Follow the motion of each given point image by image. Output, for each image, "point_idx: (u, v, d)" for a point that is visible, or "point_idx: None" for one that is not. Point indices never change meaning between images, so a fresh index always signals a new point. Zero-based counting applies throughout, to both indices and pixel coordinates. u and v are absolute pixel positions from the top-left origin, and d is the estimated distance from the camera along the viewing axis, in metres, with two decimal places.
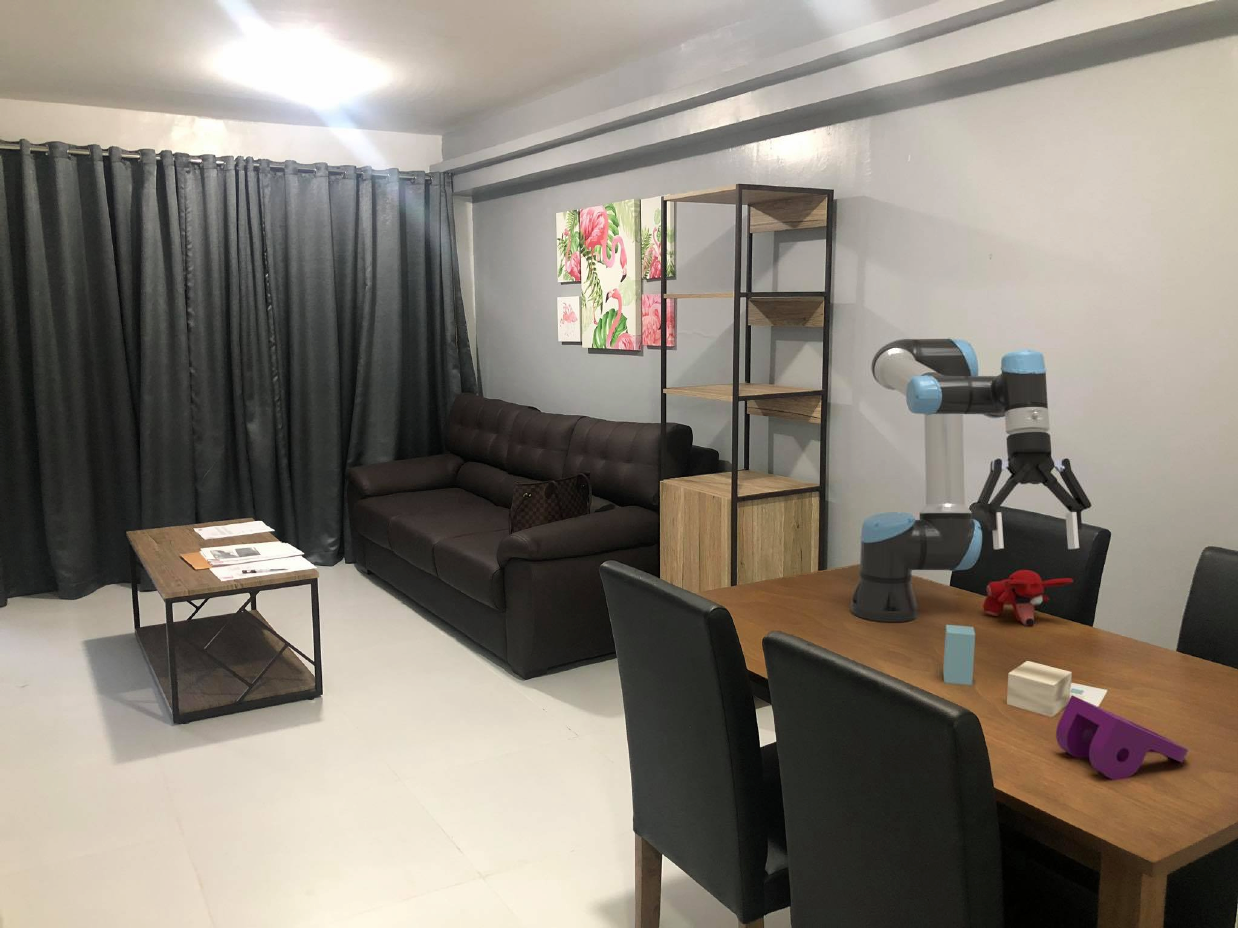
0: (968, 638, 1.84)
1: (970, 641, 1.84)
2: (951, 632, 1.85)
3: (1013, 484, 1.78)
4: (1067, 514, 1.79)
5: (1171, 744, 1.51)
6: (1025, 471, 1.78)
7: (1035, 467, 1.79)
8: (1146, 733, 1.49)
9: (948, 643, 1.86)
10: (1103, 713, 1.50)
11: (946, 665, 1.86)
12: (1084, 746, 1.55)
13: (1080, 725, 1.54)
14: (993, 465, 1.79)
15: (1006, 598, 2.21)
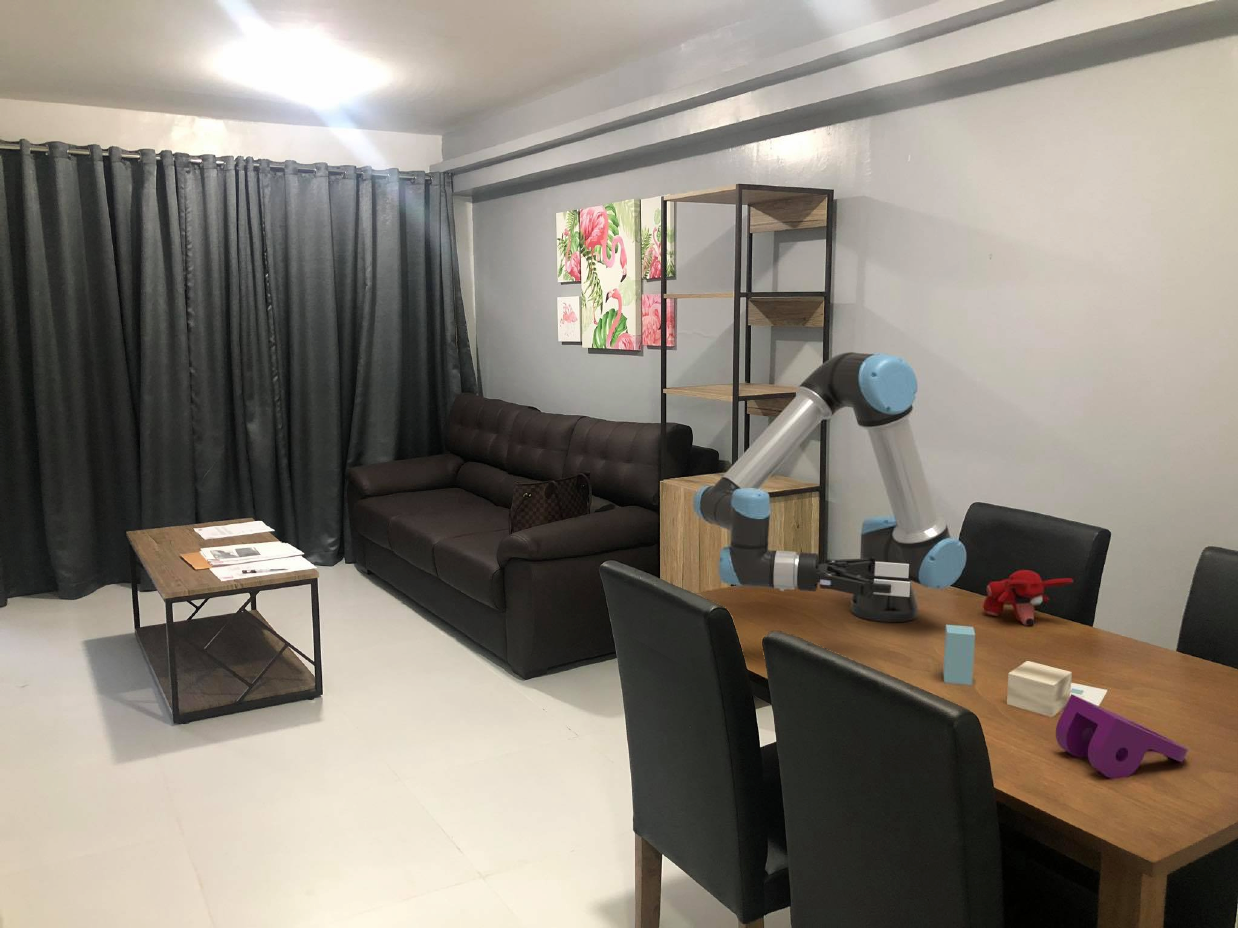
0: (968, 638, 1.84)
1: (970, 641, 1.84)
2: (951, 632, 1.85)
3: None
4: None
5: (1171, 744, 1.51)
6: None
7: None
8: (1145, 733, 1.49)
9: (948, 643, 1.86)
10: (1102, 712, 1.50)
11: (946, 665, 1.86)
12: (1083, 745, 1.56)
13: (1079, 724, 1.55)
14: None
15: (1006, 598, 2.21)
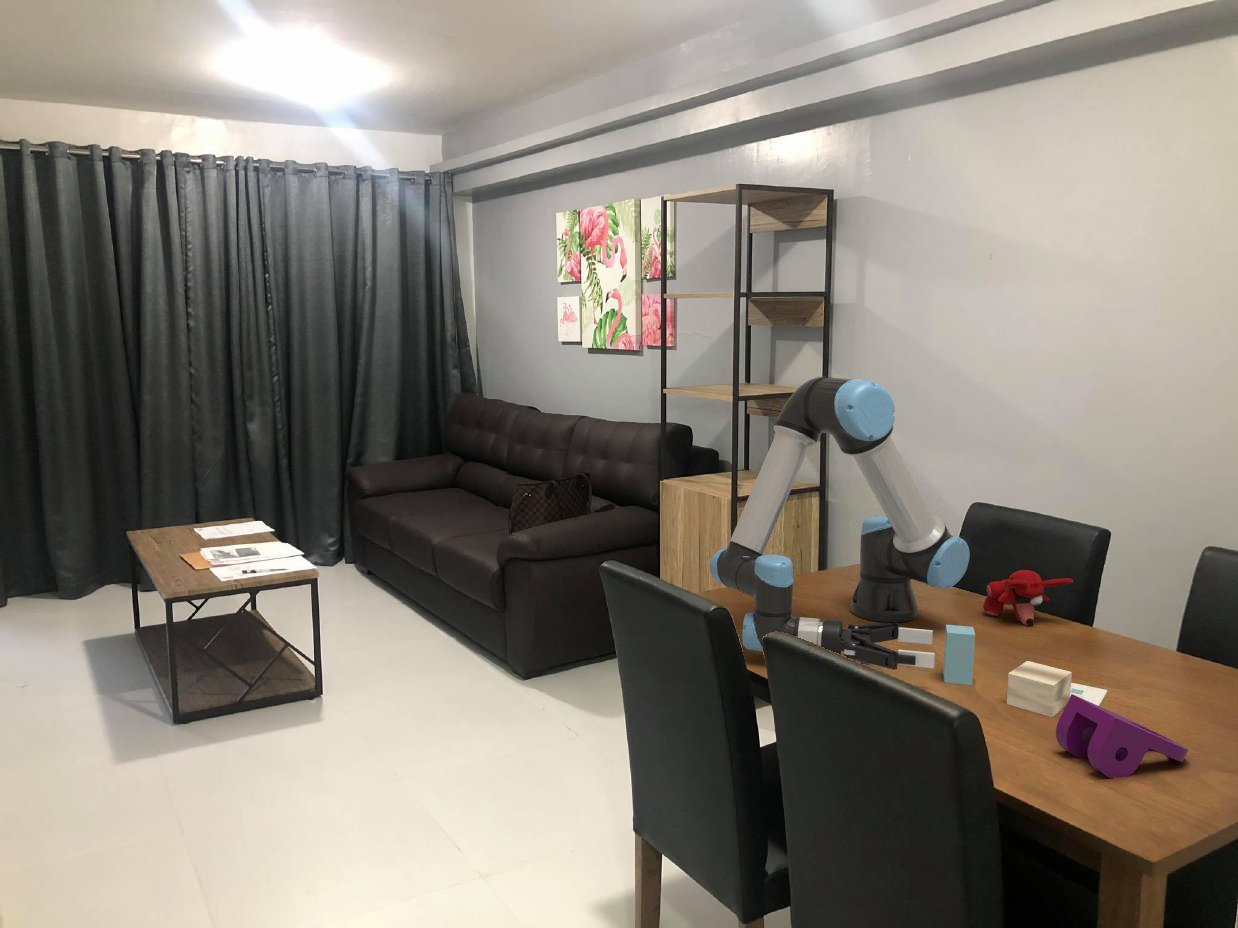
0: (968, 638, 1.84)
1: (970, 641, 1.84)
2: (951, 632, 1.85)
3: (871, 642, 1.95)
4: None
5: (1171, 744, 1.51)
6: None
7: None
8: (1145, 732, 1.49)
9: (948, 643, 1.86)
10: (1102, 712, 1.50)
11: (946, 665, 1.86)
12: (1083, 745, 1.56)
13: (1079, 724, 1.55)
14: None
15: (1006, 598, 2.21)
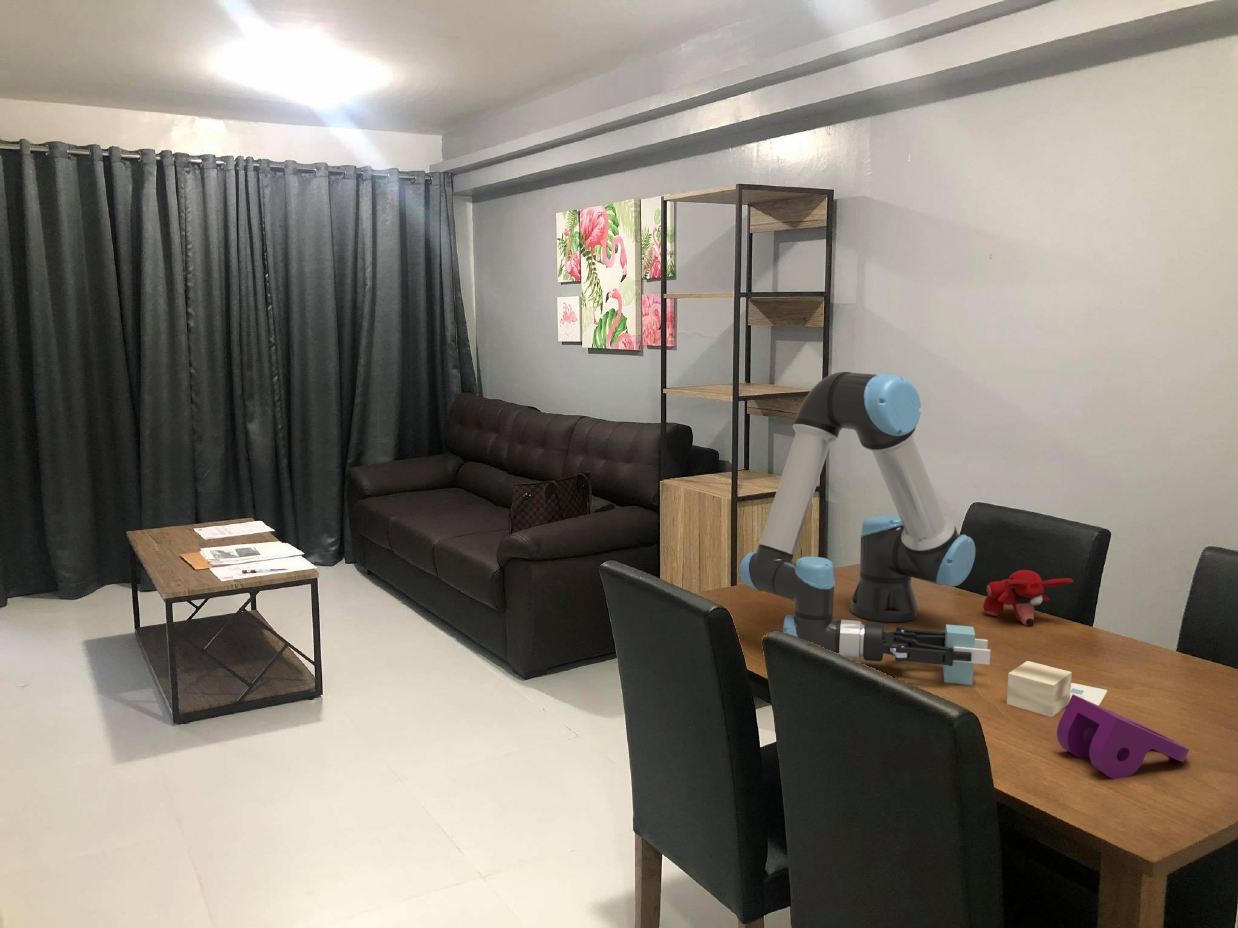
0: (968, 638, 1.84)
1: (970, 641, 1.84)
2: (951, 632, 1.85)
3: None
4: None
5: (1172, 744, 1.51)
6: None
7: None
8: (1147, 732, 1.49)
9: (948, 643, 1.86)
10: (1103, 712, 1.50)
11: (946, 665, 1.86)
12: (1084, 745, 1.56)
13: (1080, 724, 1.55)
14: None
15: (1006, 598, 2.21)
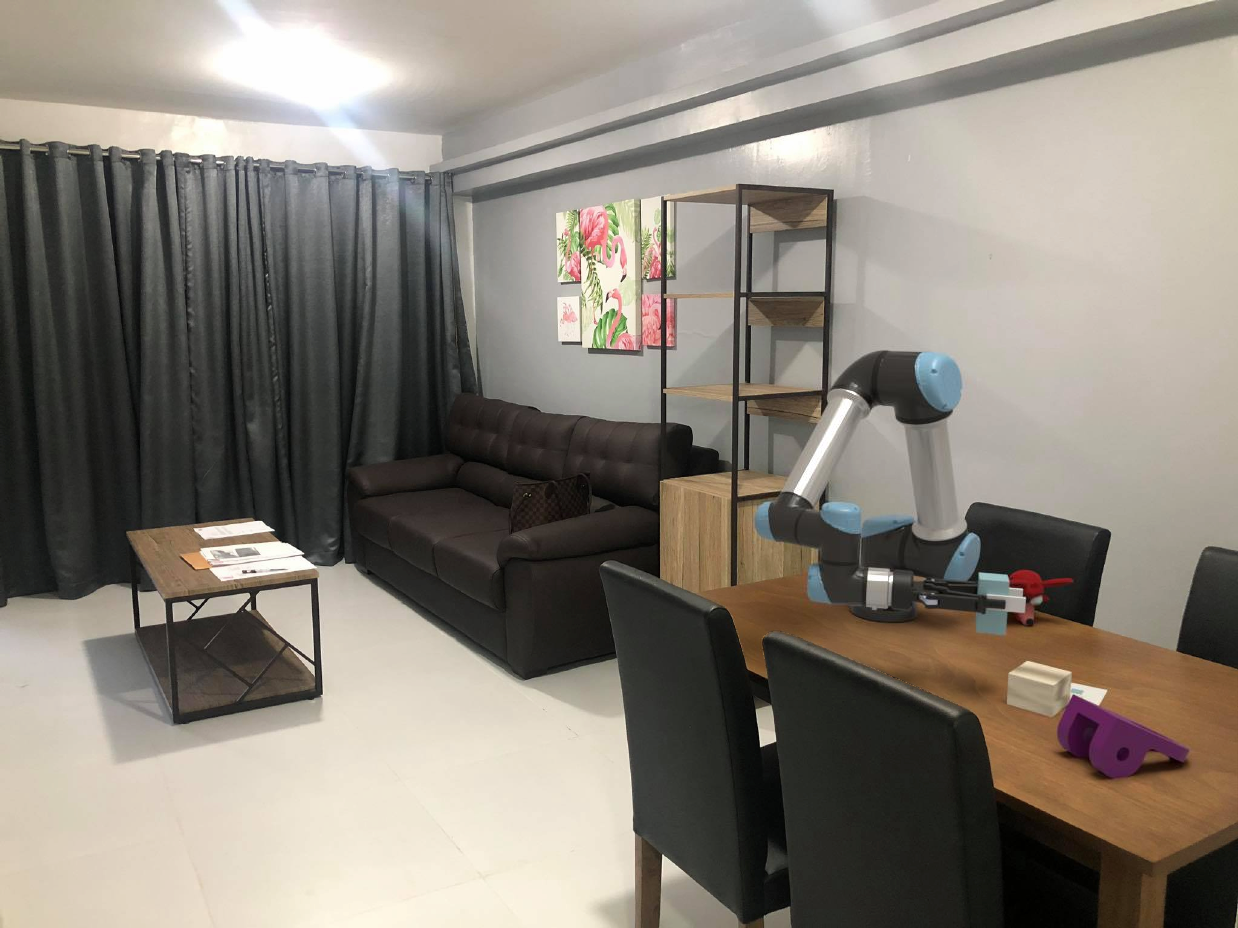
0: (1002, 585, 1.76)
1: (1004, 588, 1.76)
2: (984, 579, 1.77)
3: None
4: None
5: (1172, 744, 1.51)
6: None
7: None
8: (1146, 732, 1.49)
9: (981, 590, 1.77)
10: (1103, 712, 1.50)
11: (978, 614, 1.78)
12: (1085, 745, 1.56)
13: (1081, 724, 1.55)
14: None
15: None
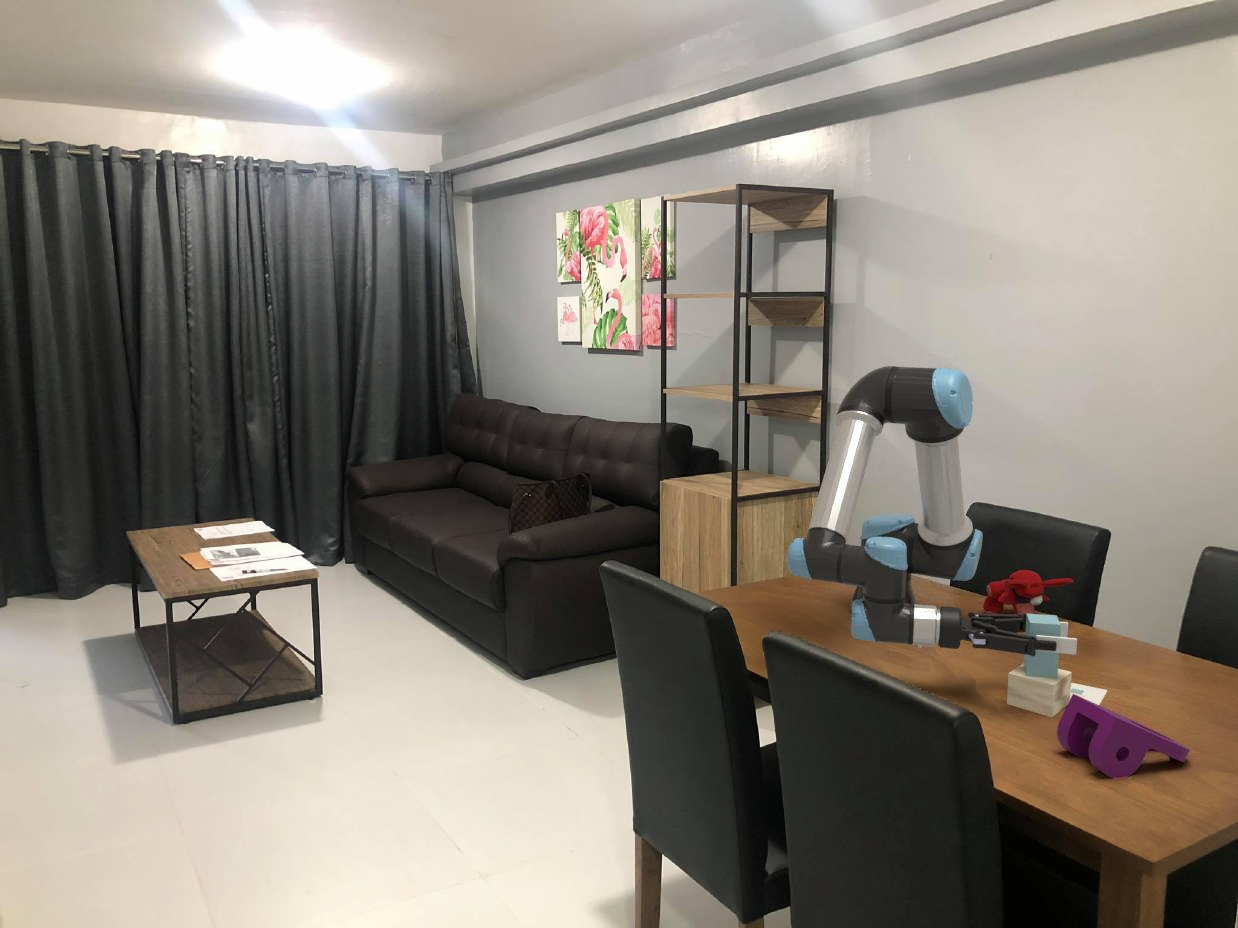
0: (1053, 628, 1.71)
1: (1056, 631, 1.71)
2: (1034, 622, 1.72)
3: None
4: None
5: (1172, 744, 1.51)
6: None
7: None
8: (1146, 732, 1.49)
9: (1031, 634, 1.73)
10: (1103, 712, 1.50)
11: (1029, 657, 1.73)
12: (1085, 744, 1.56)
13: (1080, 723, 1.55)
14: None
15: (1006, 598, 2.21)
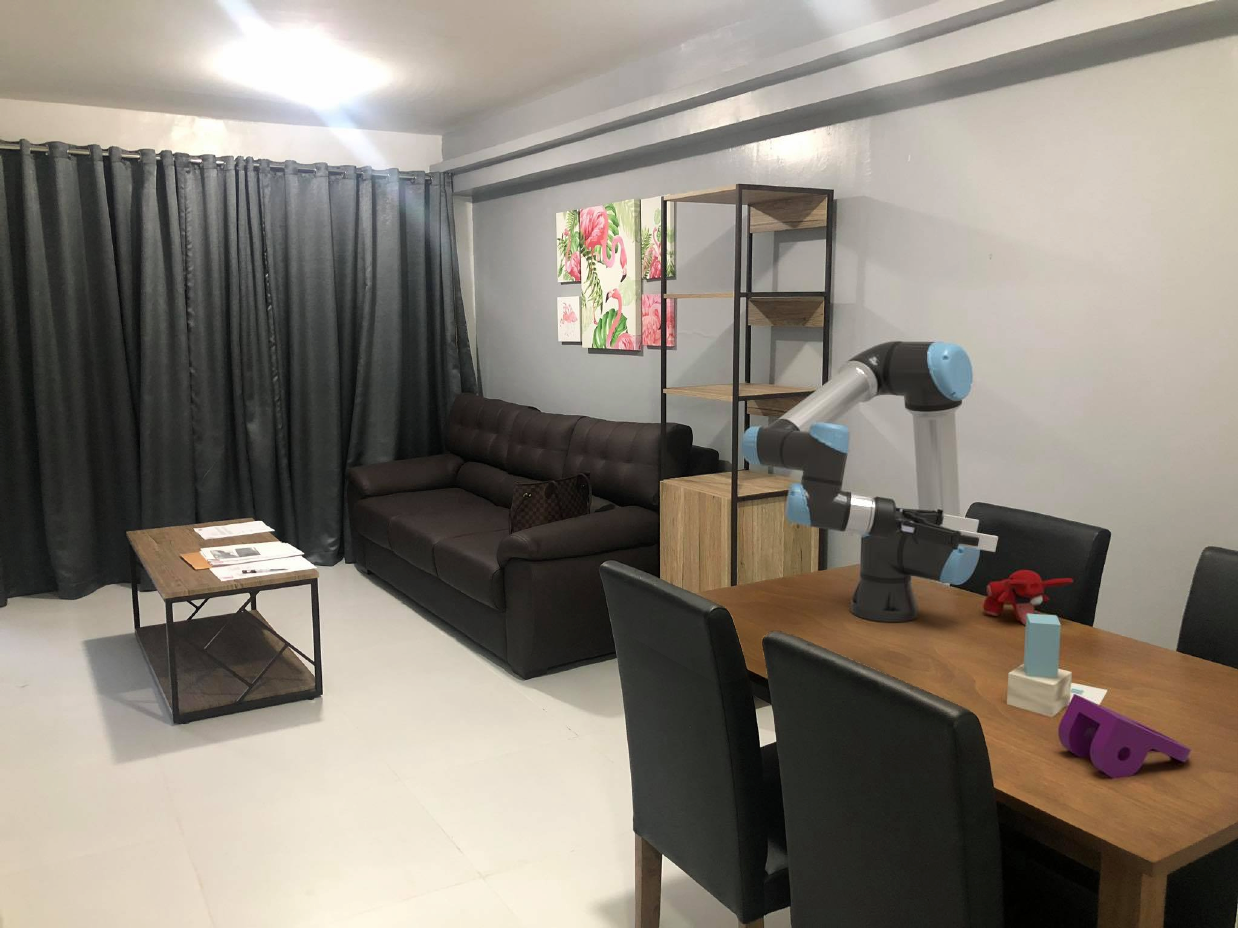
0: (1053, 628, 1.71)
1: (1056, 631, 1.71)
2: (1034, 622, 1.72)
3: None
4: None
5: (1173, 744, 1.51)
6: None
7: None
8: (1148, 732, 1.49)
9: (1031, 634, 1.73)
10: (1104, 712, 1.50)
11: (1029, 657, 1.73)
12: (1086, 745, 1.56)
13: (1082, 723, 1.55)
14: None
15: (1006, 598, 2.21)
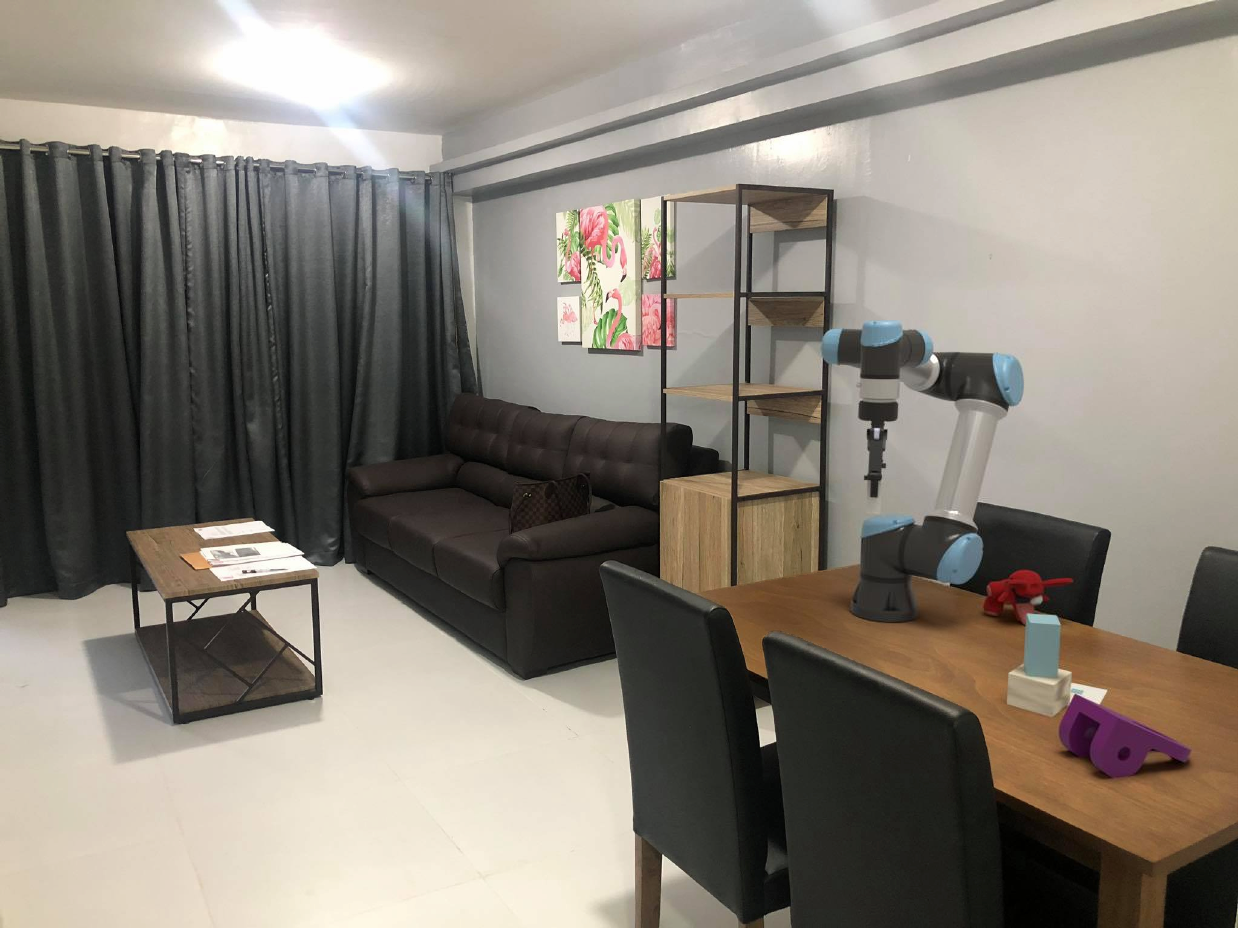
0: (1053, 628, 1.71)
1: (1056, 631, 1.71)
2: (1034, 622, 1.72)
3: None
4: (877, 481, 1.87)
5: (1174, 744, 1.51)
6: None
7: None
8: (1148, 732, 1.49)
9: (1031, 634, 1.73)
10: (1105, 712, 1.50)
11: (1029, 657, 1.73)
12: (1086, 744, 1.56)
13: (1082, 723, 1.55)
14: None
15: (1006, 598, 2.21)
